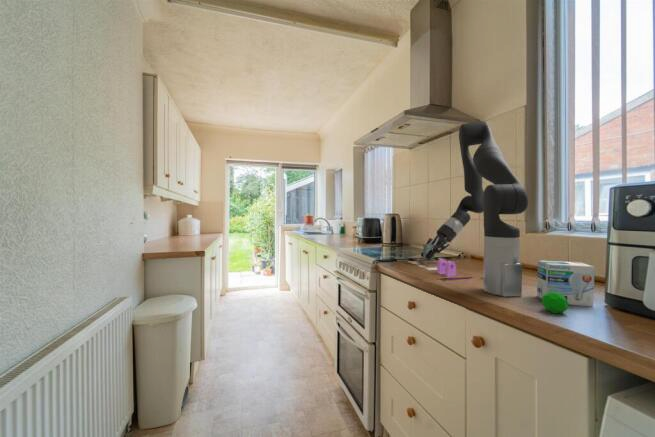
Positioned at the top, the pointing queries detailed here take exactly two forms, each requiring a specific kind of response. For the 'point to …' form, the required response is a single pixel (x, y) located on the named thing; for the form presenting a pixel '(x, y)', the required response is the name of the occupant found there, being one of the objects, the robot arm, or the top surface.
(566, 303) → the green lime
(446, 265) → the bracket
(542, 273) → the light bulb box
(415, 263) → the board
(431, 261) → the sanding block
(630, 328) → the top surface
